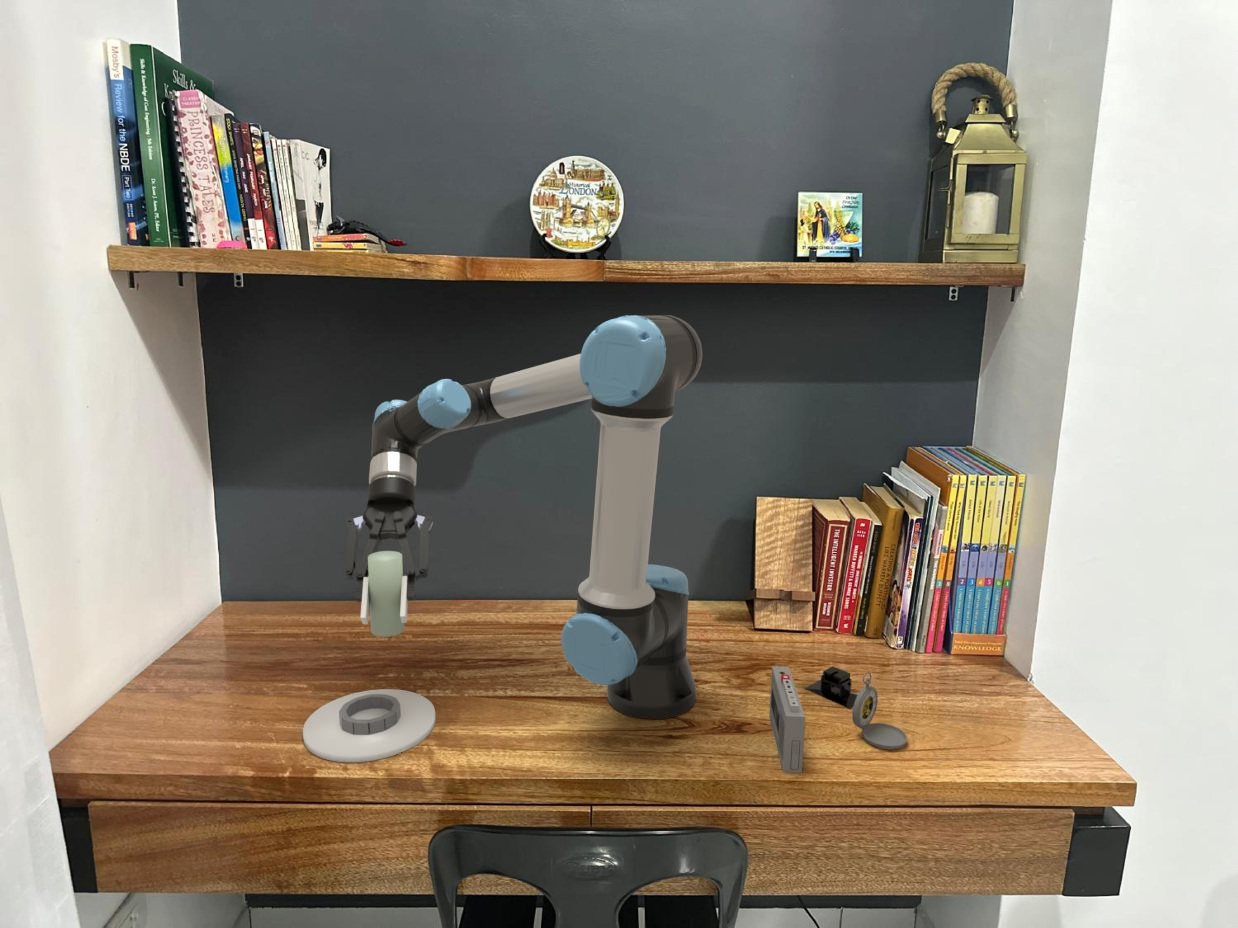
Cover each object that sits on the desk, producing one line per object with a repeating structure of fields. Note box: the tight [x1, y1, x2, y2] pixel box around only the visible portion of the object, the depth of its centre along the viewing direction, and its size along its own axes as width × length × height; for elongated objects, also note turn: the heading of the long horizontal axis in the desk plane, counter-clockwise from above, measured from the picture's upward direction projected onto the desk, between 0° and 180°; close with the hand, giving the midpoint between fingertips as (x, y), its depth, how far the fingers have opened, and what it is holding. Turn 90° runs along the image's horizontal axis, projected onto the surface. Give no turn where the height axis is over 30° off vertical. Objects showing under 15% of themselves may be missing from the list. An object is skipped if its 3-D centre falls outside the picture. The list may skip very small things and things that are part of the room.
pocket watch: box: [851, 671, 908, 750], centre depth 124 cm, size 8×8×10 cm
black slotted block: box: [804, 666, 859, 710], centre depth 138 cm, size 12×7×5 cm, turn 41°
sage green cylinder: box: [368, 550, 405, 638], centre depth 122 cm, size 5×5×12 cm
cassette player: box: [768, 665, 806, 774], centre depth 122 cm, size 16×3×10 cm, turn 177°
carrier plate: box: [302, 688, 436, 764], centre depth 126 cm, size 20×20×3 cm
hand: (383, 619), depth 119 cm, fingers closed on sage green cylinder, 5 cm apart
